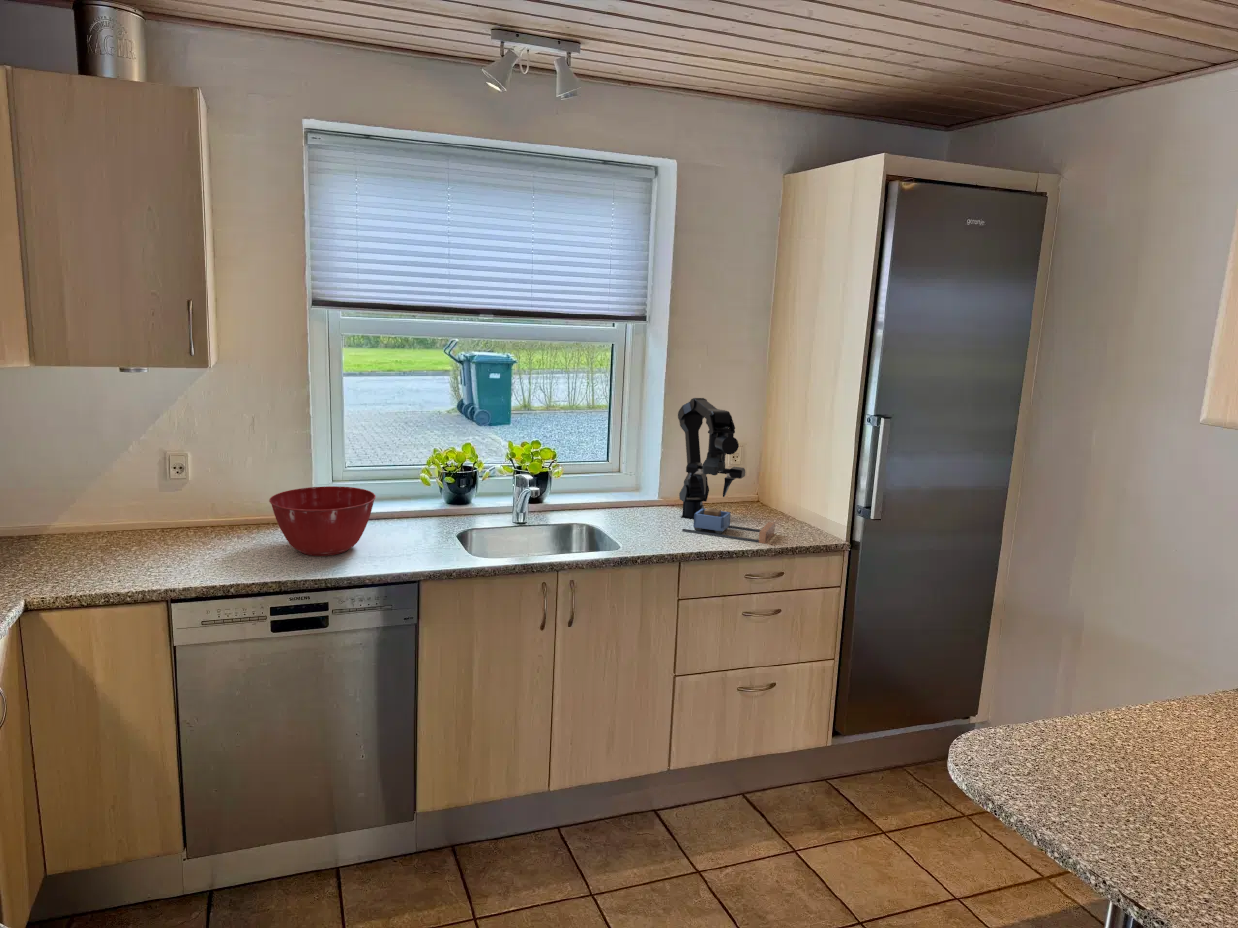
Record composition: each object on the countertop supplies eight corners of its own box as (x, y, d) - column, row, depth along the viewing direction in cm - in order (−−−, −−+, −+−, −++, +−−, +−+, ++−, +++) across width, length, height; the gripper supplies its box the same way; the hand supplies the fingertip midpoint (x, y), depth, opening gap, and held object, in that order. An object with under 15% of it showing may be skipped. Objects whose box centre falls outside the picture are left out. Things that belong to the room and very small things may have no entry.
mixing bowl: (287, 569, 228) (286, 512, 226) (258, 542, 251) (257, 490, 248) (390, 555, 245) (390, 502, 242) (355, 531, 267) (355, 482, 265)
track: (682, 532, 285) (682, 520, 285) (694, 523, 298) (695, 511, 297) (764, 544, 276) (765, 532, 275) (773, 534, 288) (774, 522, 288)
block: (703, 523, 287) (704, 510, 286) (707, 520, 291) (708, 507, 290) (716, 525, 286) (717, 512, 285) (720, 522, 290) (721, 509, 289)
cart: (693, 530, 286) (694, 513, 285) (700, 525, 295) (701, 508, 294) (722, 535, 283) (723, 517, 282) (729, 529, 291) (730, 512, 290)
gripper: (682, 449, 280) (679, 496, 283) (739, 455, 273) (735, 504, 276) (692, 444, 290) (689, 490, 293) (747, 450, 283) (743, 497, 286)
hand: (713, 495), depth 287 cm, fingers open, 6 cm apart
